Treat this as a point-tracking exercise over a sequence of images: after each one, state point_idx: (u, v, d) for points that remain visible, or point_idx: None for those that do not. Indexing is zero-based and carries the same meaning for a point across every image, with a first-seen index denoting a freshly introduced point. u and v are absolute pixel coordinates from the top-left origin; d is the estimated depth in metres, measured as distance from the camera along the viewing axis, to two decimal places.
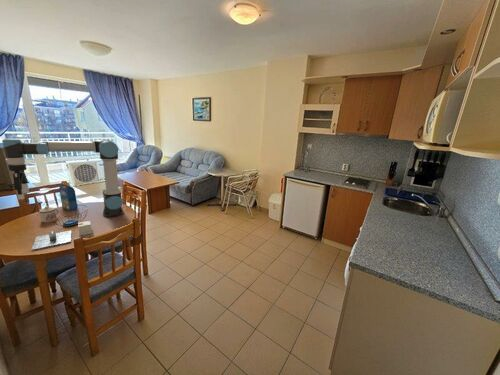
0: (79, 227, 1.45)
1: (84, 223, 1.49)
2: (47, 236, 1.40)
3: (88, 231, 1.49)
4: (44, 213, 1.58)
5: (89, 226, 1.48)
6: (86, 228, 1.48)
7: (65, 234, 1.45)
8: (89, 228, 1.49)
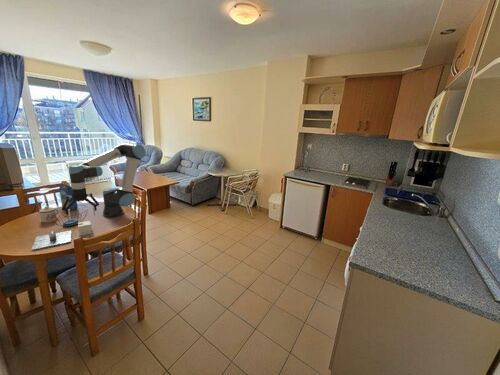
0: (79, 227, 1.45)
1: (84, 223, 1.49)
2: (47, 236, 1.40)
3: (88, 231, 1.49)
4: (44, 213, 1.58)
5: (89, 226, 1.48)
6: (86, 228, 1.48)
7: (65, 234, 1.45)
8: (89, 228, 1.49)
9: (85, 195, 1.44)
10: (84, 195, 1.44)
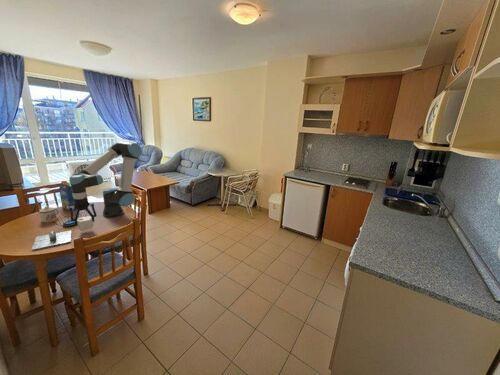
0: (79, 222, 1.44)
1: (84, 218, 1.49)
2: (47, 236, 1.40)
3: (88, 226, 1.48)
4: (44, 213, 1.58)
5: (89, 221, 1.48)
6: (86, 223, 1.47)
7: (65, 234, 1.45)
8: (89, 223, 1.48)
9: (87, 204, 1.46)
10: (86, 204, 1.46)
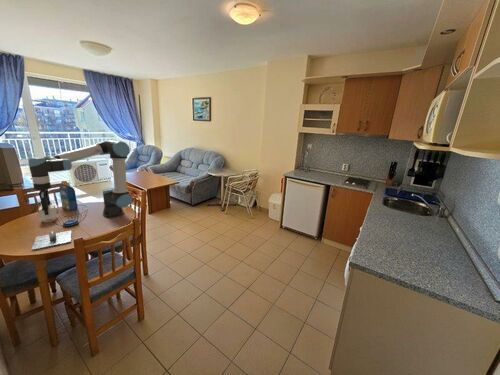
0: (54, 208, 1.32)
1: None
2: (47, 236, 1.40)
3: None
4: None
5: None
6: (55, 209, 1.35)
7: (65, 234, 1.45)
8: (55, 209, 1.37)
9: (46, 189, 1.32)
10: (46, 189, 1.32)
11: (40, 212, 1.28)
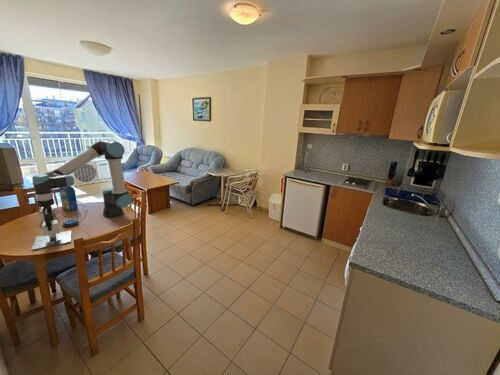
0: (57, 224, 1.35)
1: None
2: (47, 236, 1.40)
3: (58, 227, 1.40)
4: None
5: (57, 222, 1.39)
6: (58, 224, 1.38)
7: (65, 234, 1.45)
8: (58, 224, 1.40)
9: (49, 205, 1.35)
10: None
11: (43, 228, 1.31)
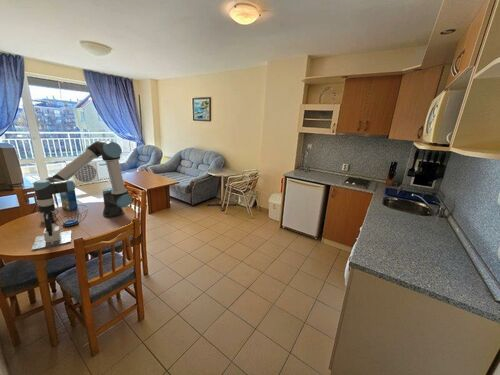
0: (58, 231, 1.36)
1: None
2: None
3: (60, 234, 1.41)
4: None
5: None
6: (59, 231, 1.40)
7: (65, 234, 1.45)
8: (59, 230, 1.41)
9: (50, 210, 1.36)
10: (50, 210, 1.35)
11: (45, 235, 1.32)
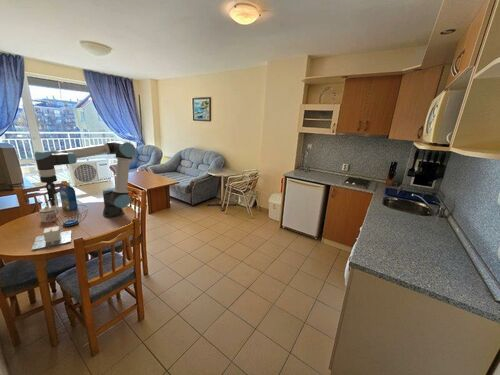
0: (58, 231, 1.36)
1: None
2: None
3: (60, 234, 1.41)
4: (44, 213, 1.58)
5: None
6: (59, 231, 1.40)
7: (65, 234, 1.45)
8: (59, 230, 1.41)
9: (52, 182, 1.36)
10: (52, 182, 1.36)
11: (45, 235, 1.32)
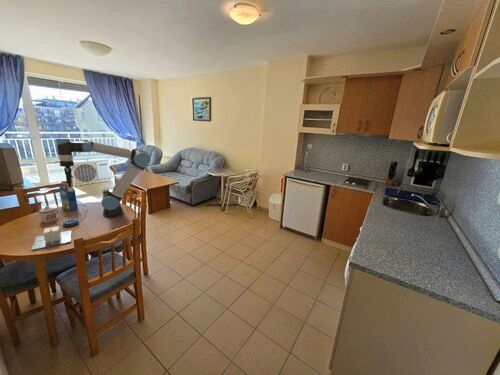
0: (58, 231, 1.36)
1: None
2: None
3: (60, 234, 1.41)
4: (44, 213, 1.58)
5: None
6: (59, 231, 1.40)
7: (65, 234, 1.45)
8: (59, 230, 1.41)
9: (69, 167, 1.52)
10: (69, 167, 1.52)
11: (45, 235, 1.32)
